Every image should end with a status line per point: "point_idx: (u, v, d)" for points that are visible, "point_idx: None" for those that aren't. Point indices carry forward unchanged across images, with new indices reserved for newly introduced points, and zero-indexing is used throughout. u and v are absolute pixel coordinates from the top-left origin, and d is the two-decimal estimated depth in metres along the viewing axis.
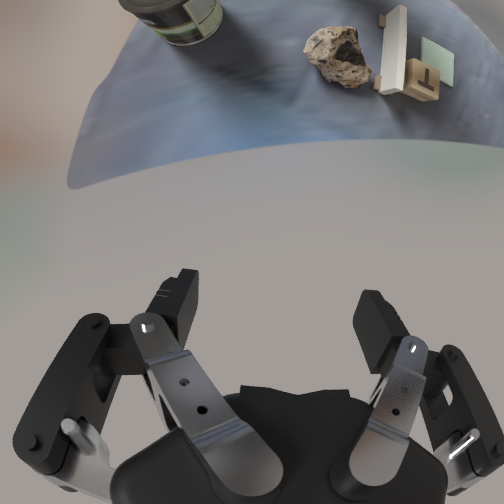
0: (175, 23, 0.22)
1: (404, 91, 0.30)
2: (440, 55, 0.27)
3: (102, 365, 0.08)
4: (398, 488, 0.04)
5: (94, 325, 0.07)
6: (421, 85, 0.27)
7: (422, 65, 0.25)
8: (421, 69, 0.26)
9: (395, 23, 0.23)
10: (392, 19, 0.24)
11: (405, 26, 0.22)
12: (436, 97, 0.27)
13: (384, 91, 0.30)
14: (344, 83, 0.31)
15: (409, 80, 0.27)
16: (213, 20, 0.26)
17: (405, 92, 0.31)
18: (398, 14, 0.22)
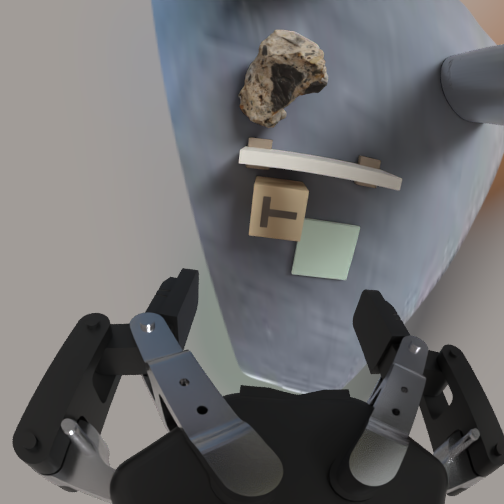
0: None
1: None
2: (336, 255, 0.31)
3: (102, 365, 0.08)
4: (398, 488, 0.04)
5: (94, 325, 0.07)
6: (263, 202, 0.25)
7: (299, 207, 0.25)
8: (291, 204, 0.25)
9: (364, 168, 0.23)
10: (372, 169, 0.24)
11: (361, 179, 0.22)
12: (251, 231, 0.26)
13: None
14: (242, 90, 0.23)
15: (266, 184, 0.25)
16: None
17: None
18: (382, 173, 0.22)
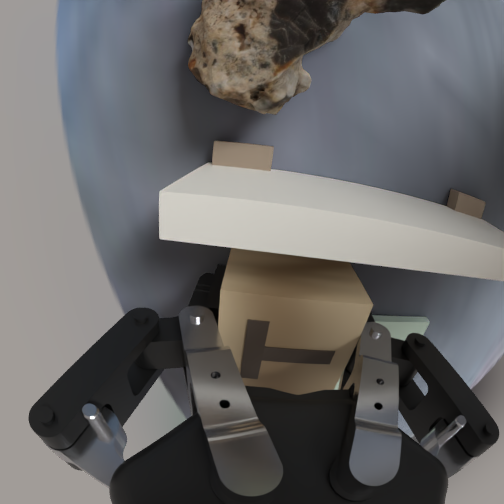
0: None
1: None
2: None
3: (143, 359, 0.08)
4: (398, 488, 0.04)
5: (143, 319, 0.08)
6: (247, 333, 0.09)
7: (342, 340, 0.09)
8: (323, 336, 0.09)
9: (491, 236, 0.07)
10: (491, 230, 0.08)
11: (496, 274, 0.07)
12: None
13: None
14: (194, 24, 0.07)
15: (257, 283, 0.09)
16: None
17: None
18: None
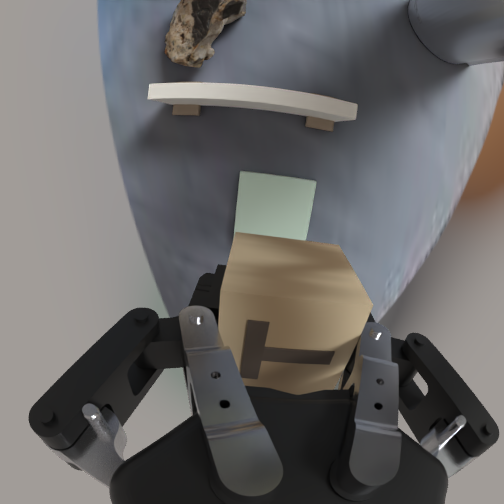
0: None
1: None
2: (288, 218, 0.26)
3: (143, 359, 0.08)
4: (398, 488, 0.04)
5: (143, 319, 0.08)
6: (247, 333, 0.09)
7: (342, 340, 0.09)
8: (323, 337, 0.09)
9: None
10: None
11: (299, 104, 0.16)
12: None
13: None
14: None
15: (256, 284, 0.09)
16: None
17: None
18: (330, 98, 0.17)
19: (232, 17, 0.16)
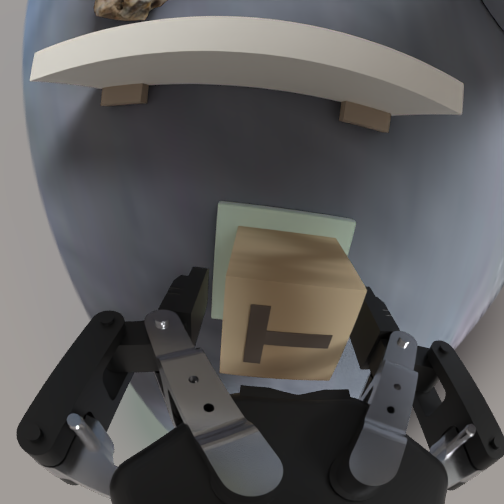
0: None
1: None
2: None
3: (114, 362, 0.08)
4: (398, 489, 0.04)
5: (108, 322, 0.08)
6: (250, 317, 0.10)
7: (339, 324, 0.10)
8: (321, 320, 0.10)
9: None
10: None
11: (352, 63, 0.06)
12: (225, 368, 0.11)
13: None
14: None
15: (259, 271, 0.10)
16: None
17: None
18: (411, 62, 0.06)
19: None
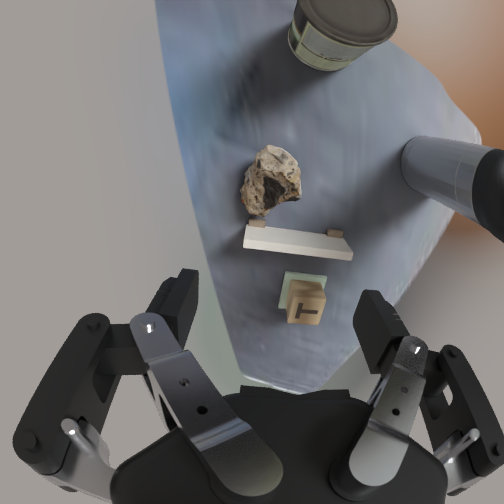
0: (295, 19, 0.21)
1: (290, 287, 0.43)
2: None
3: (102, 365, 0.08)
4: (398, 488, 0.04)
5: (94, 325, 0.07)
6: (298, 305, 0.40)
7: (319, 307, 0.40)
8: (315, 306, 0.40)
9: (327, 245, 0.37)
10: (334, 243, 0.38)
11: (324, 255, 0.36)
12: (289, 320, 0.41)
13: (245, 230, 0.39)
14: (242, 188, 0.37)
15: (300, 294, 0.40)
16: (311, 59, 0.27)
17: (290, 288, 0.43)
18: (339, 249, 0.36)
19: None
